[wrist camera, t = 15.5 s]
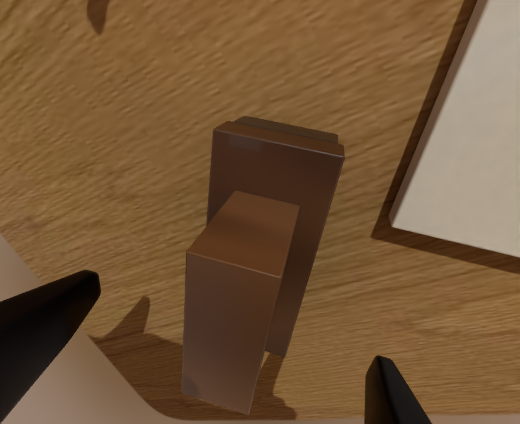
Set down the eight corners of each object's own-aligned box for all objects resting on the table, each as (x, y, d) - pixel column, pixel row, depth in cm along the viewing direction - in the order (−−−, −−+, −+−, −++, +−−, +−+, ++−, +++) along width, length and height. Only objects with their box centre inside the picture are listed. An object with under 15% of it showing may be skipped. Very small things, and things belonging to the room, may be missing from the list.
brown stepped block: (293, 311, 17) (268, 455, 11) (219, 290, 17) (154, 415, 11) (343, 135, 12) (350, 213, 6) (238, 114, 12) (144, 164, 6)
